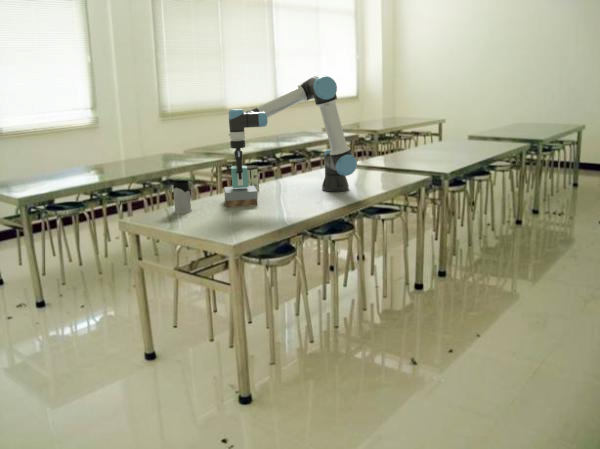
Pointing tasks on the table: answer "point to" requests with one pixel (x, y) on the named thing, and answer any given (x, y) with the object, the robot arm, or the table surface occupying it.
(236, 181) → the teal block
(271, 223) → the table surface
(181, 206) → the grey black mug
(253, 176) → the coffee can
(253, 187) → the grey slab
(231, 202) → the walnut slab
